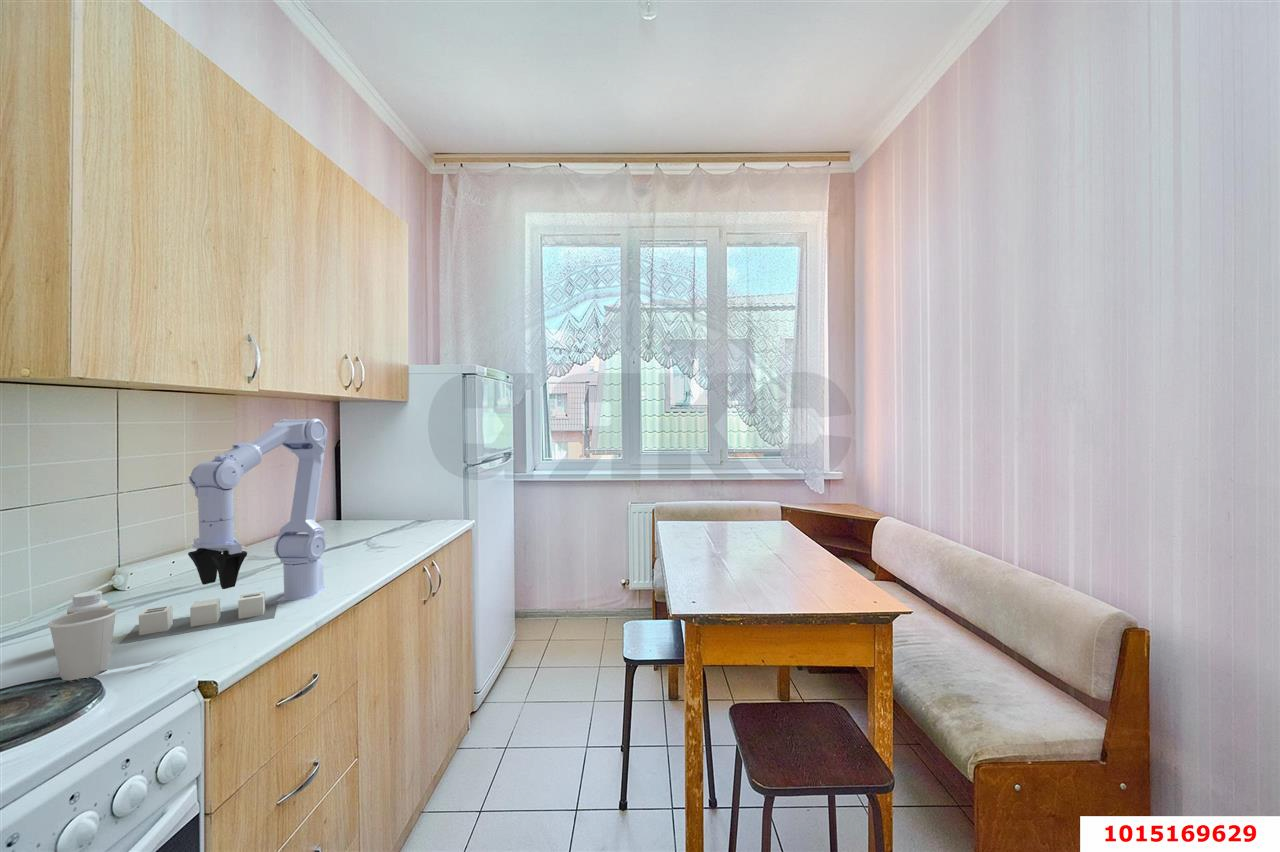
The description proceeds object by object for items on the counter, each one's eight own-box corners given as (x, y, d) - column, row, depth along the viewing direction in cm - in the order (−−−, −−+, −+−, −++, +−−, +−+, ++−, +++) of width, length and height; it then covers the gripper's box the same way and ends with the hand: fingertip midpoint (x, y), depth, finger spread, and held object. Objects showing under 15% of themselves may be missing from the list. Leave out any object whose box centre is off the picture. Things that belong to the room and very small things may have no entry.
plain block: (194, 620, 116) (194, 601, 116) (220, 616, 118) (220, 598, 118) (190, 626, 112) (190, 607, 112) (217, 622, 114) (216, 603, 114)
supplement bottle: (63, 654, 101) (61, 600, 101) (73, 644, 106) (71, 592, 106) (104, 647, 104) (103, 594, 104) (112, 637, 109) (110, 587, 109)
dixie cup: (91, 662, 97) (90, 607, 97) (132, 663, 96) (130, 608, 96) (34, 684, 89) (32, 624, 89) (78, 686, 88) (76, 625, 88)
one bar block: (241, 613, 120) (240, 594, 120) (265, 609, 122) (264, 591, 122) (238, 618, 116) (238, 600, 116) (263, 614, 119) (262, 596, 119)
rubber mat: (278, 605, 127) (277, 602, 127) (274, 620, 116) (274, 617, 116) (136, 627, 114) (136, 625, 114) (118, 647, 104) (118, 644, 104)
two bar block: (145, 628, 112) (144, 608, 112) (172, 623, 114) (172, 604, 114) (139, 635, 108) (138, 614, 108) (167, 630, 110) (167, 610, 110)
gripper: (175, 520, 110) (177, 586, 110) (212, 525, 103) (214, 595, 104) (215, 515, 116) (217, 577, 116) (252, 519, 110) (254, 585, 110)
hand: (218, 585), depth 110 cm, fingers open, 7 cm apart
